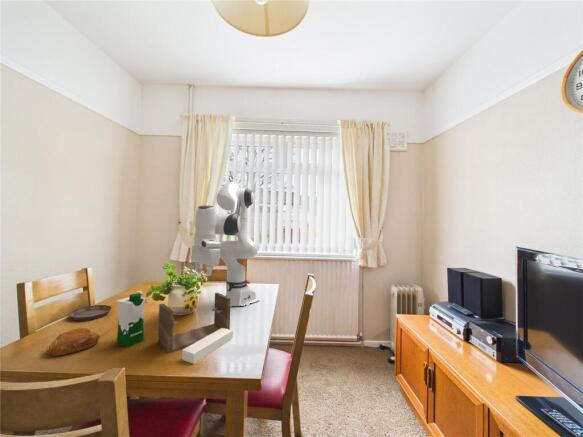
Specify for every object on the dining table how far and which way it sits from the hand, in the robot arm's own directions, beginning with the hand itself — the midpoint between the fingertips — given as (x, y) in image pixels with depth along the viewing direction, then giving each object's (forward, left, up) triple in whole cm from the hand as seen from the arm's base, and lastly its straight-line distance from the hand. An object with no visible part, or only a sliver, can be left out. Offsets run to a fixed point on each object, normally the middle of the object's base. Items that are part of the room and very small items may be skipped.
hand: (203, 274), depth 110 cm
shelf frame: (+1, -4, -29) cm, 29 cm away
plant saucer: (+31, -64, -29) cm, 77 cm away
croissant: (+40, -28, -29) cm, 57 cm away
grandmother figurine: (+12, -50, -29) cm, 59 cm away
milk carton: (+23, -18, -29) cm, 41 cm away
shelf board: (+1, +9, -29) cm, 30 cm away
